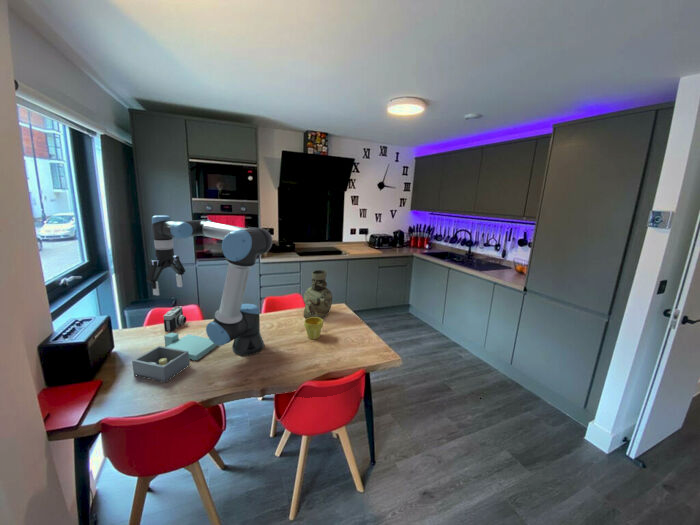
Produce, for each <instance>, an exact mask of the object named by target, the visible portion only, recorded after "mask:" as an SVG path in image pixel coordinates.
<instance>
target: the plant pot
mask: <svg viewBox="0 0 700 525" xmlns="http://www.w3.org/2000/svg"><path fill="white" fill-rule="evenodd" d="M303 326H304V328H305V331H306V334H307V338H308V339H310V340H317V339H319V338H320V336H321V332H322V328H323V327H324V319H321V318H318V317H310V318H307V319H306V318H305V319H304V324H303Z"/></svg>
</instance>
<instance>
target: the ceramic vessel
mask: <svg viewBox="0 0 700 525" xmlns="http://www.w3.org/2000/svg"><path fill="white" fill-rule="evenodd" d="M327 273H328V272H327V271H326V270H325V269H324V270H323V269H322V270H321V269H316V270H313V271H311V285H312V286H310V287H308V288H307V289H306V290H305V292H304V295H303V302H304V303H305V306H304V310H303V313H302V314H303V318H304V319H305V320H306V319H307V318H310V317H318V318H321V319H322V320H324V319H325V318H326V317H327V316H328V315H329V312H330V311H331V309H332V305H333V293H332V291H331V290H329V288H327V286H328V283H327V281H326V279H327Z"/></svg>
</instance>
